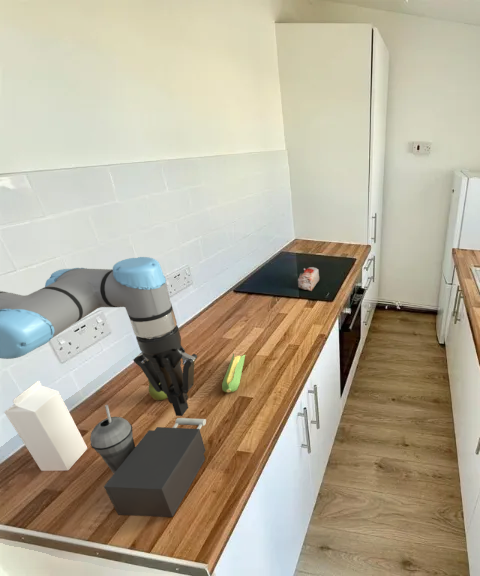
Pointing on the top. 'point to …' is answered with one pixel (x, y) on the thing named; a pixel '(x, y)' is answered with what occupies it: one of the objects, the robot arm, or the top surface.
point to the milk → (46, 428)
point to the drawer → (187, 422)
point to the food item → (308, 279)
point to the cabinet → (156, 474)
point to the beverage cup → (113, 440)
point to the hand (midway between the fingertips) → (182, 411)
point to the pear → (156, 393)
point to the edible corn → (233, 374)
